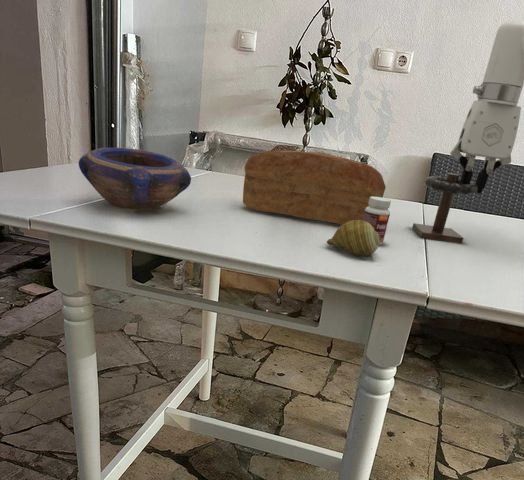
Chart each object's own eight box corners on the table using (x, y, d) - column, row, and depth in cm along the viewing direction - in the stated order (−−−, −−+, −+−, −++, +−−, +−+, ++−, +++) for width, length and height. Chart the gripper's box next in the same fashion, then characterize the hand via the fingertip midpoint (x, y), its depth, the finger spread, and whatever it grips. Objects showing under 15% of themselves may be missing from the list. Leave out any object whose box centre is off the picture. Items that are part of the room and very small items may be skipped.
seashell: (327, 269, 93) (320, 241, 86) (333, 239, 96) (327, 210, 89) (381, 271, 90) (378, 242, 83) (385, 239, 93) (383, 209, 86)
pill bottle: (376, 246, 96) (386, 202, 93) (354, 240, 99) (363, 196, 95) (386, 243, 100) (397, 200, 96) (365, 237, 102) (374, 195, 99)
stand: (450, 233, 117) (467, 174, 111) (462, 243, 109) (481, 180, 103) (412, 228, 117) (427, 168, 111) (421, 237, 109) (438, 174, 103)
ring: (467, 188, 114) (469, 179, 113) (484, 197, 104) (487, 187, 103) (418, 182, 113) (420, 173, 113) (430, 191, 104) (433, 181, 103)
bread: (247, 201, 121) (254, 141, 115) (376, 223, 117) (390, 161, 111) (234, 209, 110) (241, 143, 104) (376, 234, 106) (391, 167, 100)
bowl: (129, 222, 89) (130, 163, 85) (68, 200, 98) (66, 145, 94) (199, 213, 103) (203, 161, 98) (140, 195, 112) (141, 146, 107)
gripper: (464, 90, 97) (438, 189, 105) (547, 101, 97) (514, 199, 105) (453, 90, 104) (429, 183, 112) (530, 101, 104) (500, 193, 112)
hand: (470, 190), depth 108 cm, fingers closed on ring, 2 cm apart
